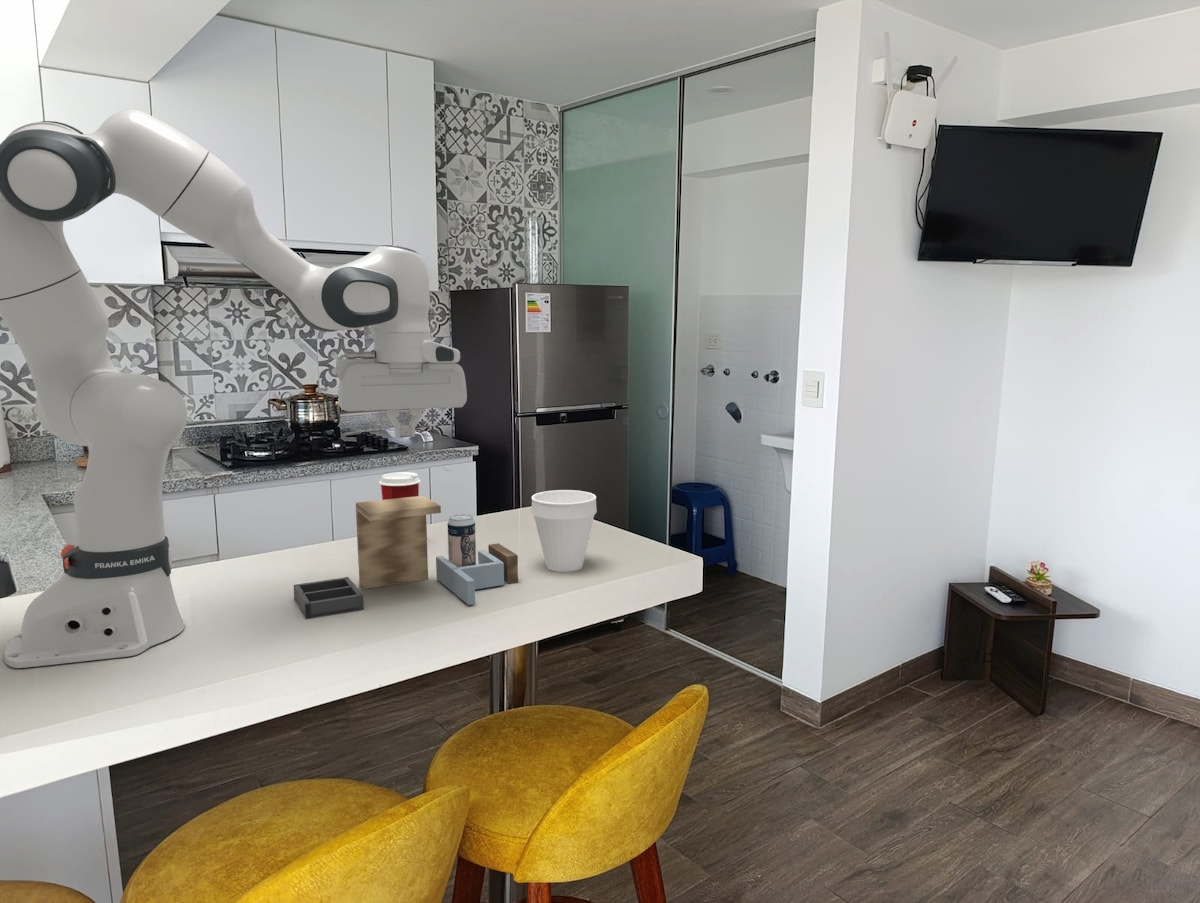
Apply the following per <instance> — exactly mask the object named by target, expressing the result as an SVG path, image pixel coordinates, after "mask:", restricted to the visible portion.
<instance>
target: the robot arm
mask: <svg viewBox="0 0 1200 903" xmlns="http://www.w3.org/2000/svg"><path fill="white" fill-rule="evenodd" d="M113 194H118V195H122V196H125V197H128V198H130V199H132V200H134V201H135V202H136V203H138V204H140V205H142V206H144V207H145V208H146V209H148V210H149V211H151V212H152V213H154V214H155V215H157V216H158V218H159V217H160V218H161V219H163V220H164V221H166V222H167V223H169V225H172V226H173V227H175V228H176V229H179V230H180V231H181V232H183V233H185V234H187V235H189V236H190V237H192V238H194V239H196V240H198V241H200V242H202V243H204V244H206V245H208V246H210V247H212V248H214V249H216V250H217V251H220V252H221V253H223V254H226V255H228V256H229V257H231V258H233V259H234V260H235V261H237V262H239V263H240V264H241V265H242V266H244V267H245V268H247V269H248V270H249V271H250V272H252V273H253V274H255V275H256V276H257V277H259V278H261V280H263V281H264V282H266V283H267V284H269V285H270V286H272V287H273V288H274V289H276V290H277V291H278V292H280V294H281V295H283V296H284V297H285V299H286V300H287V301H288V302H289V304H290V306H291V307H292V308H293V309H294V312H295V313H296V315H297V316H298V317H299V319H300V320H301V321H302V322H303V323H304V324H305V325H307V326H308V327H310V328H311V329H313V330H315V331H317V332H325V333H332V332H338V331H353V330H356V331H357V330H361V329H363V328H367V327H370V326H371V327H372V328H373V351H372V350H370V351H369V350H368V351H366V350H365V351H345V353H344V354H342V355H340V356H339V357H338V358H337V360H336V364H335V368H336V369H335V372H336V376H337V378H338V379H339V381H338V382H339V383H338V393H337V397H338V398H337V403H338V407H340V408H341V410H343V411H345V412H349V413H351V412H368V411H369V412H371V411H386V416H387V418H388V420H389V421H390V423H391V424H392V425H393V427H394V438H396V439H404V438H416V426H417V425H418V423H419V422H420V420H421V418H422V416H423V415H422V413H423V412H422V410H423V409H424V410H425V409H427V410H428V409H447V408H448V409H449V408H463V407H464V405H465V404H467V403H466V402H467V401H468V400H467V399H468V394H467V393H468V392H467V383H466V382H467V381H466V376H465V371H464V369H463V367H462V366H461V365H459V362H460V360H461V352H460V351H459V349H457V348H454V347H451V346H448V345H445V344H442V343H440V342H435V341H432V336H431V332H432V331H431V328H430V324H429V311H430V307H431V298H430V297H431V296H430V293H431V292H430V280H429V273H428V272H429V271H428V267H427V263H426V260H425V258H424V257H423V256H422V255H421V254H420V253H419V252H417V251H416V250H414V249H411V248H408V247H403V246H399V245H397V246H396V245H389V244H388V245H387V244H384V245H379V246H377V247H376V248H375V249H374V250H372V251H371V252H370V253H368V254H366V255H364V256H363V257H360V258H358V259H356V260H353V261H350V262H347V263H345V264H341V265H337V266H333V267H324V266H323V267H322V266H319V265H315V264H313V263H311V262H308V261H307V260H306V259H304V258H303V257H302V256H300V255H299V254H297V253H296V252H295V251H294V250H293V249H291V248H290V247H289V246H287V245H286V244H285V243H284V242H282V241H281V240H280V239H278V238H277V237H276V236H274V235H273V234H272V233H271V232H270V231H268V229H267V228H265V227H264V225H263V224H262V223H261V221H260V219H259V218H258V215H257V213H256V210H255V205H254V204H255V202H254V198H253V194H252V191H251V189H250V186H249V185H248V184H246V182H245V181H244V180H243V179H242V178H241V177H240V176H239V175H238V174H237V173H236V171H234V170H233V169H232V168H231V167H230V166H229V165H227V164H226V163H225V162H224V161H223V160H221V158H219V157H217V156H216V155H215V154H213V152H211V151H209V150H208V149H207V148H205V147H204V146H203V145H201V144H200V143H198V142H197V141H196V140H194V139H192V138H191V137H190V136H188V135H187V134H185V133H183V132H182V131H180V130H178V129H176V128H175V127H173V126H171V125H170V124H167V122H165V121H162V120H161V119H159V118H157V117H155V116H153V115H152V114H149V113H147V112H145V111H142V110H140V109H136V108H126V109H123V110H120V111H118V112H115V113H114V114H112V115H110V116H109V117H108V118H106V119H105V120H104V121H103V122H102V124H101V125H100V126H99V128H98V129H96V130H95V131H93V132H92V133H87V134H86V133H85V134H84V133H83V132H82V131H81V130H79V129H78V128H76V127H74V126H71V125H69V124H66V123H63V122H60V121H55V120H54V121H53V120H52V121H51V120H43V121H36V122H31V123H26V124H24V125H22V126H19V127H17V128H16V129H14V130H13V131H11V132H10V133H9V134H8V136H6V138H5V139H4V140H3V141H2V142H1V143H0V318H1V319H2V320H3V322H4V323H5V326H6V327H7V329H8V330H9V332H10V334H11V335H12V338H13V339H14V341H15V342H16V344H17V345H18V347H19V349H20V351H21V353H22V355H23V357H24V360H25V361H26V364H27V366H28V370H29V373H30V376H31V379H32V382H33V385H34V388H35V392H36V395H37V396H36V397H35V398H36V400H35V407H34V408H35V413H36V414H35V415H36V416H37V419H38V421H39V423H40V425H42V427H43V428H44V429H45V430H46V431H48V433H51V434H52V435H54V437H55V436H56V437H57V438H59V439H60V440H62V441H64V442H67V443H69V444H72V445H76V446H81V447H88V457H87V464H86V470H85V474H84V476H83V480H82V482H81V483H80V485H78V487H77V488H76V490H75V492H74V494H73V506H74V513H75V514H74V515H75V523H76V524H75V525H76V536H77V543H78V544H77V545H73V544H67V545H65V546H63V547H62V548H61V552H60V558H61V559H62V568H63V569H62V570H63V572H64V575H63V576H61V577H60V578H59V579H58V580H57V581H55V582H54V583H52V584H51V585H50V586H49V587H48V588H46V589H45V590H44V591H43V592H42V593H41V594H39V595H38V596H37V597H35V598H34V599H33V600H32V601H31V603H30V604H29V605H28V606H27V609H26V610H25V613H24V615H23V618H22V623H21V632H20V633H18V634H17V635H15V636H14V637H12V638H11V639H10V640H9V641H8V642H7V644H6V646H5V648H4V662H5V664H6V665H7V666H9V667H11V668H15V669H22V668H24V669H25V668H33V667H44V666H51V665H61V664H62V665H63V664H70V663H80V662H88V661H98V660H107V659H116V658H118V659H119V658H125V657H133V656H137V655H139V654H141V653H143V652H145V651H146V650H147V649H149V648H151V647H153V646H155V645H158V644H161V643H163V642H167V641H168V640H170V639H172V638H174V637H175V636H177V635H179V634H180V633H182V631H183V630H184V629H185V627H186V626H185V622H184V620H183V618H182V615H181V613H180V611H179V608H178V605H177V602H176V597H175V595H174V594H175V593H174V589H173V586H172V580H171V574H172V568H173V567H172V565H173V564H172V555H171V545H170V542H169V538H168V537H167V536H166V534H165V533H166V532H165V521H164V520H165V518H164V504H163V482H164V475H165V470H166V466H167V462H168V458H169V454H170V452H171V449H172V446H173V445H174V444H175V443H176V442H177V440H179V438H180V437H181V436H182V434H183V433H184V431H185V428H186V427H187V426H186V425H187V422H188V408H187V403H186V401H185V399H184V397H183V395H182V394H181V393H180V392H179V391H178V390H177V388H175V387H173V385H171V384H169V383H166V382H165V381H162V380H159V379H157V378H154V377H152V376H149V375H147V374H141V373H131V372H130V373H128V372H127V373H126V372H120V371H119V370H118V369H117V368H116V366H115V365H114V363H113V361H112V359H111V355H110V351H109V346H108V342H107V334H108V332H109V327H110V324H109V323H110V322H109V319H108V317H107V315H106V312H105V311H104V309H103V307H102V305H101V303H100V301H99V300H98V298H97V296H96V295H95V292H94V291H93V289H92V287H91V285H90V283H89V281H88V280H87V277H86V276H85V274H84V272H83V271H82V268H81V267H80V264H78V262H77V260H76V258H75V257H74V254H73V253H72V251H71V249H70V247H69V245H68V242H67V240H66V238H65V233H64V222H67V221H71V220H73V219H77V218H78V217H80V216H82V215H84V214H86V213H87V212H89V211H90V210H91V209H93V208H94V207H96V206H97V205H98V204H100V203H101V202H104V200H106V199H107V198H109V197H111V196H112V195H113ZM401 410H409V415H411V416H412V417H411V419H410V420H409V422H408V425H401V424H400V422H399V421H398V419H397V418H398V417H399V416H400V411H401Z"/></svg>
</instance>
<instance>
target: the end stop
mask: <svg viewBox="0 0 1200 903" xmlns="http://www.w3.org/2000/svg"><path fill="white" fill-rule="evenodd" d="M487 546H488V547H487V548H488V550H487V551H488V553H490V554H491V555H493V556H494V557H496V558H497V559H499V560H500V561H502V562H503V563H504V583H506V584H508V585H509V584H516V583H519V566H518V564H519V563H518V562H519V559H518V557H519V555H518V554H517V553H515V552H513V551H512V550H510V549H508V548H507V547H505V546H504V545H502V544H500V543H490V544H488V545H487Z"/></svg>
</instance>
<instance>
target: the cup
mask: <svg viewBox="0 0 1200 903" xmlns="http://www.w3.org/2000/svg"><path fill="white" fill-rule="evenodd" d="M530 498H531V510H530V511H531V515H533V516H534V522H535V526H536V529H537V534H538V538H539V542H540V546H541V550H542V553H543V557H544V562H545V566H546V569H547V570H549V571H553V572H557V573H571V572H577V571H579V570H581V569H582V568H583V565H584V561H585V557H586V553H587V552H586V551H587V547H588V543H589V539H590V535H591V531H592V527H593V522H594V517H595V515H596V514H597V512H598V511H597V496H596V494H594V493H592V492H590V491H589V492H588V491H582V490H575V489H574V490H573V489H557V490H545V491H541V492H537V493H534V494H533V495H532V496H531V497H530Z"/></svg>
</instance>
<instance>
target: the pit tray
mask: <svg viewBox="0 0 1200 903" xmlns="http://www.w3.org/2000/svg"><path fill="white" fill-rule="evenodd" d="M293 597H294V601H295V602H296V604H297V606H298V607H299V609H300V611H301V612H302V615H303V616H304V618H305V620H308V619H314V618H321V617H326V616H332V615H339V614H343V613H344V614H345V613H350V612H355V611H356V612H357V611H362V610H365V603H364V602H365V600H364V597H365V596H364V594H363V593H362V592H361V589H360V588H358V587H357V586H356V584H354V582H353V581H352V579H351V578H350V577H349V576H345V577H339V578H332V579H325V580H319V581H311V582H305V583H297V584H296V583H295V584H293Z"/></svg>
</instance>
